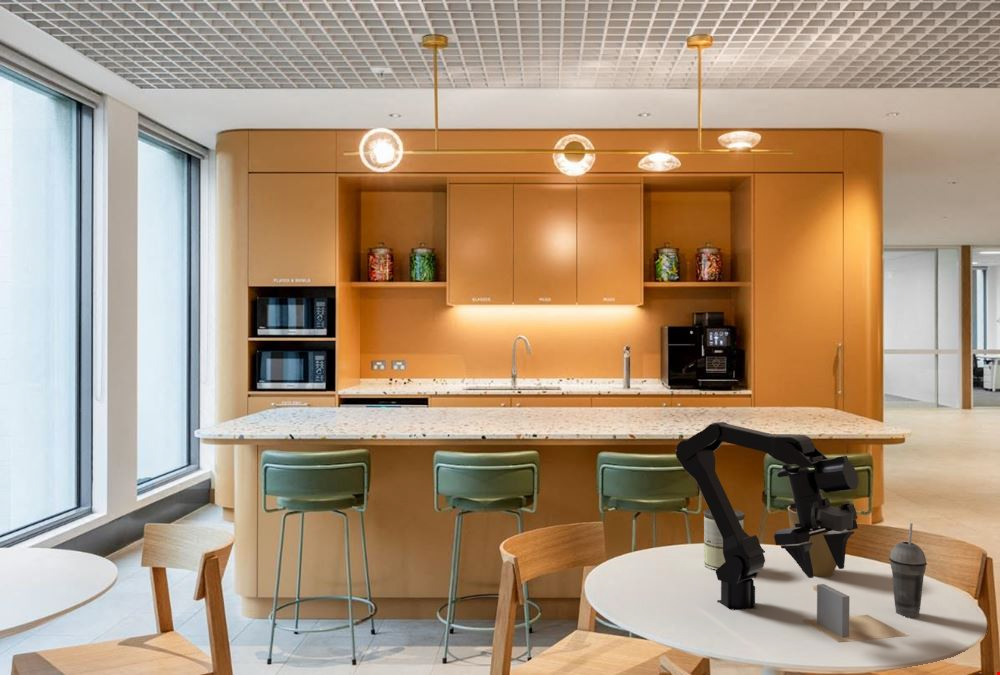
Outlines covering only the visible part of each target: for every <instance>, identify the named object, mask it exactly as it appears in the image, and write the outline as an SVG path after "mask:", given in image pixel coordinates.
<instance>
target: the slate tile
mask: <svg viewBox="0 0 1000 675" xmlns="http://www.w3.org/2000/svg"><path fill="white" fill-rule="evenodd" d="M816 586H817V591H816V619H817V623H818V624H819V625H821V626H823V627H825V628H827V629H828V630H830V631H832V632H834V633H835V634H837V635H839V636H841V637H849V616H850V599H851V598H850V595H848V594H846V593H843V592H841V591H839V590H837V589H836V588H833V587H831V586H829V585H826V584H825V583H818V584H817V585H816Z"/></svg>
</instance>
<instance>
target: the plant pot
mask: <svg viewBox="0 0 1000 675" xmlns="http://www.w3.org/2000/svg"><path fill="white" fill-rule="evenodd" d="M787 514H788V522H789V528H796V527H795V523H799V521H798V517H797V512H796V508H792V509H791V506H790V505H789V506H787ZM827 533H828V532H825V533H821V534H817V535H813V536H810V539H809V541H808V542H807V543H812V545H811V548H810V550H809V553H810V558H811V563H812V568H813V576H815V577H831V576H832V575H834V572H835V571H836V568H837V567H838V566H837V565H836V563H835V561H834V558H833V556H832V554H831V552H830V549H829V547H828V545H827V543H826V540H825V538H824V536H823V535H824V534H827ZM801 570H802V569H801ZM802 572H803V573H804V571H803V570H802Z"/></svg>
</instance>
